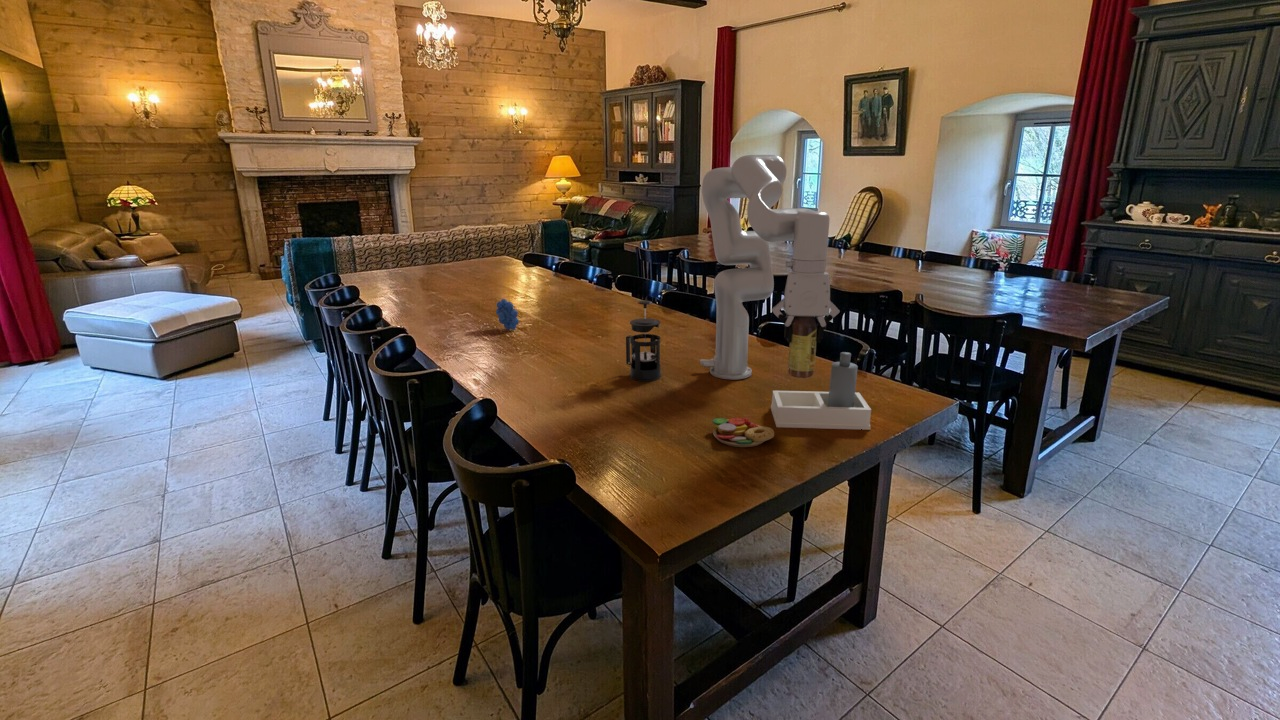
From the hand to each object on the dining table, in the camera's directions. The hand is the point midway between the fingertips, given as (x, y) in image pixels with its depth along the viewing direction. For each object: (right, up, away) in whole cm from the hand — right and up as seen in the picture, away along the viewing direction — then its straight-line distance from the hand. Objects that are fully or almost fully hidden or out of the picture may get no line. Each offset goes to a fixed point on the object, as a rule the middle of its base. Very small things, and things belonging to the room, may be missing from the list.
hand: (803, 340), depth 145 cm
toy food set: (-16, -23, -4) cm, 28 cm away
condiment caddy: (+5, -19, +6) cm, 21 cm away
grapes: (-91, +7, +90) cm, 128 cm away
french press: (-38, -10, +37) cm, 54 cm away
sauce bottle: (0, -8, +3) cm, 9 cm away
